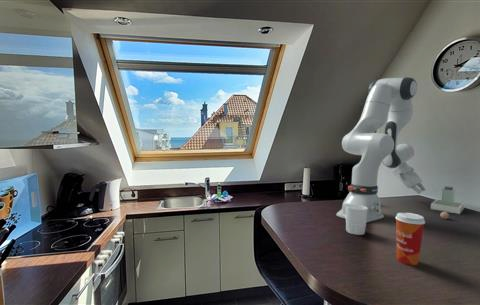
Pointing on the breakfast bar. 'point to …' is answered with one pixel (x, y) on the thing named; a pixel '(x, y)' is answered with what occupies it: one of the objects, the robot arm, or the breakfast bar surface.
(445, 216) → the ball
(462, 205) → the dish
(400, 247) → the paper cup
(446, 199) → the shaker
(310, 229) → the breakfast bar surface
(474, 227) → the breakfast bar surface
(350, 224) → the white cup
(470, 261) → the breakfast bar surface
